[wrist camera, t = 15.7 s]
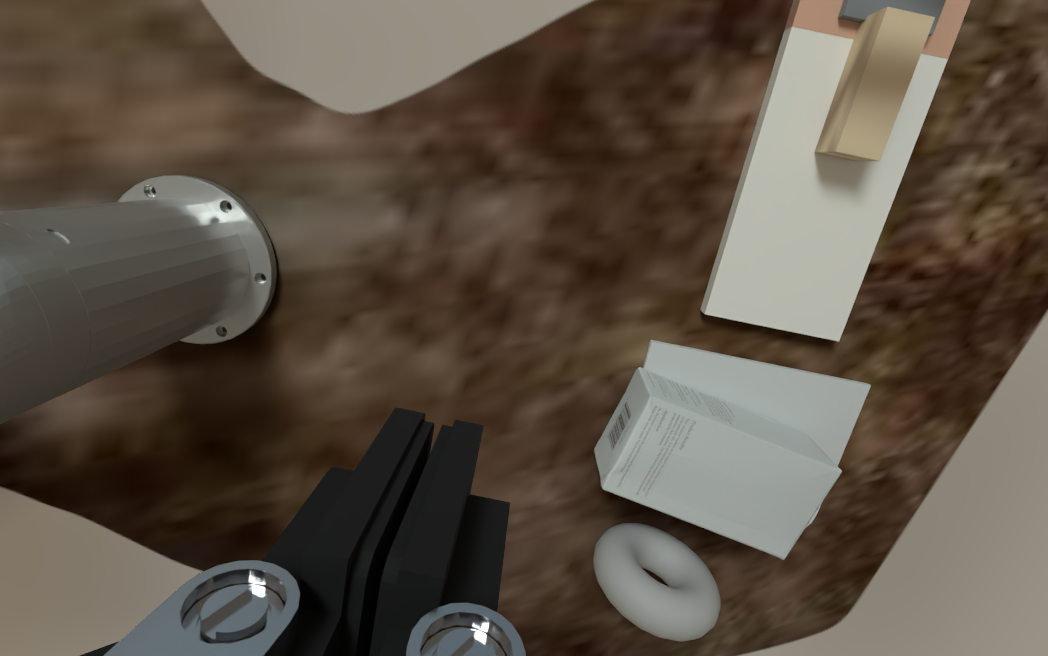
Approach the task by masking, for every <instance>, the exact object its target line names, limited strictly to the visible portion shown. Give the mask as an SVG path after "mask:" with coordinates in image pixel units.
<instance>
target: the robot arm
mask: <svg viewBox="0 0 1048 656" xmlns="http://www.w3.org/2000/svg"><path fill="white" fill-rule="evenodd" d="M230 204H231V206H232V208H231V207H230ZM263 275H265V277H266V279H265V278H264V276H263ZM276 277H277V270H276V259H275V255H274V251H273V247H272V244H271V241H270V239H269V237H268V235H267V233H266V230H265V228H264V226H263V225H262V224H261V222H260V221H259V219H258V218H257V216H256V215H255V213H254V212H253V211H252V210H251V209H250V208H249V207H248V206H247V205H246V204H245V203H244V202H243V201H242V200H241V199H240V198H238V197H237V196H236V195H234V194H233V193H232V192H230V191H229V190H228V189H226V188H224V187H222V186H220V185H218V184H216V183H214V182H212V181H208V180H205V179H202V178H198V177H193V176H184V175H171V176H160V177H155V178H151V179H147V180H145V181H143V182H141V183H139V184H137V185H135V186H133V187H132V188H131V189H130V190H128V191H127V192H126V193H124V194H123V195H122V197H121V198H120V199H119V200H118V202H115V203H102V204H90V205H77V206H65V207H53V208H40V209H28V210H15V211H3V212H0V424H1V423H3V422H5V421H7V420H9V419H11V418H13V417H15V416H17V415H19V414H21V413H24V412H26V411H28V410H30V409H32V408H34V407H36V406H39V405H41V404H43V403H45V402H47V401H49V400H51V399H53V398H55V397H58V396H60V395H62V394H65V393H67V392H69V391H71V390H74V389H76V388H78V387H80V386H82V385H84V384H86V383H89V382H91V381H93V380H95V379H97V378H99V377H101V376H104V375H106V374H108V373H110V372H112V371H114V370H116V369H119V368H121V367H123V366H125V365H127V364H129V363H131V362H134V361H136V360H138V359H140V358H142V357H144V356H147V355H149V354H151V353H153V352H155V351H157V350H159V349H162V348H164V347H166V346H168V345H170V344H172V343H174V342H177V341H182V342H186V343H194V344H213V343H219V342H223V341H226V340H230V339H232V338H234V337H236V336H238V335H240V334H242V333H244V332H245V331H247V330H248V329H250V328H251V327H253V326H254V325H255V324H256V323H257V322H258V321H259V320H260V319H261V318H262V316H263V315H264V314H265V312H266V310H267V309H268V307H269V305H270V304H271V301H272V298H273V294H274V291H275V286H276ZM483 426H484V425H479V424H474V423H469V422H464V421H459V420H455V422H454V424H453V427H451V426H446V425H442V427H441V430H440V432H439V434H438V437H437V439H436V441H435V444H434V446H433V449H432V451H431V453H430V449H431V443H432V437H433V431H434V423H431V422H426V421H425V413H420V412H416V411H411V410H406V409H401V408H395V409H394V410H393V412H392V414H391V415H390V417H389V418H388V420H387V421H386V423H385V424H384V426H383V428H382V429H381V431H380V432H379V434H378V435H377V437H376V438H375V440H374V441H373V443H372V445H371V446H370V448H369V449H368V451H367V452H366V454H365V455H364V457H363V458H362V460H361V462H360V463H359V465H358V466H357V468H356V469H355V471H353V470H348V469H343V468H338V467H332V468H331V469H330V470H329V471H328V472H327V473H326V475H325V476H324V477H323V479H322V480H321V481H320V483H319V484H318V485H317V487H316V488H315V490H314V491H313V492H312V494H311V495H310V496H309V498H308V499H307V501H306V502H305V503H304V505H303V506H302V507H301V509H300V510H299V511H298V513H297V514H296V516H295V517H294V518H293V520H292V521H291V522H290V524H289V525H288V526H287V528H286V529H285V531H284V532H283V533H282V535H281V536H280V537H279V539H278V540H277V541H276V543H275V544H274V546H273V547H272V548H271V550H270V551H269V552H268V554H267V555H266V556H265V558H264V559H263V561H257V560H251V561H235V562H231V563H226V564H222V565H218V566H215V567H213V568H211V569H208V570H206V571H204V572H202V573H199V574H198V575H197V576H195V577H194V578H192V579H191V580H189V581H188V582H187V583H185V584H184V585H182V586H181V587H180V588H179V589H178V590H177V591H176V592H174V593H173V594H172V595H171V596H170V597H169V598H168V599H167V600H166V601H164V602H163V603H162V604H161V605H160V606H159V607H158V608H156V609H155V610H154V611H153V612H152V613H151V614H150V615H148V616H147V617H146V618H145V619H144V620H143V621H142V622H141V623H140V624H138V625H137V626H136V627H135V628H134V629H133V630H132V631H130V632H129V633H128V634H127V635H126V636H125V637H124V638H123V639H122V640H121V641H119V642H116V643H113V644H110V645H108V646H105V647H102V648H99V649H97V650H94V651H91V652H89V653H86V654H83V655H81V656H526V654H525V650H524V647H523V643H522V640H521V637H520V636H519V634H518V633H517V631H516V630H515V628H514V627H513V625H512V624H511V623H510V622H508V621H507V620H506V619H505V618H504V617H503V616H501V615H500V614H499V613H497V607H498V599H499V590H500V582H501V574H502V565H503V557H504V549H505V540H506V532H507V524H508V515H509V506H510V503H509V502H505V501H500V500H495V499H490V498H485V497H480V496H475V495H470V492H471V487H472V482H473V477H474V472H475V467H476V462H477V457H478V452H479V447H480V442H481V437H482V432H483ZM429 455H430V456H429Z"/></svg>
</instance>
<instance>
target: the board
mask: <svg viewBox="0 0 1048 656" xmlns="http://www.w3.org/2000/svg"><path fill="white" fill-rule="evenodd" d="M970 1H971V0H946V2H945V4H944V7H943V9H942V12H941V15H940V17H939V20H938V22H937V25H936V28H935V30H934V33H933V35H931V36H928V37H927V40H926V42H925V45H924V48H923V50H922V53H921V55H920V58H919V61H918V63H917V66H916V69H915V71H914V74H913V76H912V79H911V82H910V84H909V87H908V89H907V92H906V95H905V97H904V100H903V102H902V105H901V108H900V110H899V113H898V115H897V118H896V121H895V123H894V126H893V128H892V131H891V134H890V136H889V139H888V142H887V144H886V147H885V149H884V152H883V155H882V157H881V160H880V161H851V160H847V159H842V158H838V157H833V156H828V155H824V154H819V153H815V149H816V146H817V144H818V141H819V138H820V135H821V132H822V129H823V126H824V123H825V121H826V118H827V115H828V112H829V109H830V106H831V103H832V100H833V97H834V95H835V92H836V89H837V86H838V83H839V80H840V77H841V74H842V72H843V69H844V66H845V63H846V60H847V57H848V54H849V51H850V49H851V46H852V43H853V40H854V37H855V34H856V31H857V28H858V26H859V23H858V22H853V21H849V20H844V19H840V18H838V15H839V12H840V9H841V6H842V3H843V0H793V4H792V7H791V10H790V14H789V17H788V20H787V24H786V27H785V30H784V34H783V37H782V40H781V44H780V47H779V50H778V53H777V57H776V60H775V63H774V67H773V70H772V73H771V77H770V80H769V83H768V87H767V90H766V93H765V97H764V100H763V103H762V107H761V110H760V113H759V117H758V120H757V123H756V127H755V130H754V133H753V137H752V140H751V143H750V147H749V150H748V153H747V156H746V160H745V163H744V166H743V170H742V173H741V176H740V180H739V183H738V186H737V190H736V193H735V196H734V200H733V203H732V206H731V210H730V213H729V216H728V220H727V223H726V226H725V230H724V233H723V236H722V240H721V243H720V246H719V249H718V253H717V256H716V259H715V263H714V266H713V269H712V273H711V276H710V279H709V283H708V286H707V289H706V293H705V296H704V299H703V303H702V306H701V309H700V310H701V311H702V312H703V313H704V314H706V315H711V316H716V317H721V318H725V319H730V320H735V321H740V322H745V323H750V324H755V325H760V326H765V327H770V328H775V329H780V330H785V331H790V332H795V333H800V334H804V335H809V336H814V337H819V338H824V339H829V340H834V341H839V340H840V338H841V335H842V333H843V330H844V327H845V325H846V322H847V320H848V317H849V314H850V312H851V309H852V307H853V304H854V301H855V299H856V296H857V294H858V291H859V288H860V286H861V283H862V281H863V278H864V275H865V273H866V270H867V268H868V265H869V262H870V260H871V257H872V255H873V252H874V249H875V247H876V244H877V242H878V239H879V237H880V234H881V231H882V229H883V226H884V224H885V221H886V218H887V216H888V213H889V211H890V208H891V205H892V203H893V200H894V198H895V195H896V192H897V190H898V187H899V185H900V182H901V179H902V177H903V174H904V172H905V169H906V166H907V164H908V161H909V159H910V156H911V153H912V151H913V148H914V146H915V143H916V140H917V138H918V135H919V133H920V130H921V128H922V125H923V122H924V120H925V117H926V115H927V112H928V109H929V107H930V104H931V102H932V99H933V96H934V94H935V91H936V89H937V86H938V83H939V81H940V78H941V76H942V73H943V70H944V68H945V65H946V63H947V60H948V58H949V55H950V53H951V50H952V48H953V45H954V42H955V40H956V37H957V35H958V32H959V29H960V27H961V24H962V22H963V19H964V16H965V14H966V11H967V9H968V6H969V3H970Z"/></svg>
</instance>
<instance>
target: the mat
mask: <svg viewBox="0 0 1048 656" xmlns="http://www.w3.org/2000/svg"><path fill="white" fill-rule="evenodd" d="M643 368H644V369H646V370H649V371H651V372H654V373H656V374H659V375H661V376H663V377H666V378H668V379H671V380H673V381H676V382H679V383H681V384H684V385H686V386H689V387H691V388H694V389H696V390H699V391H701V392H704V393H706V394H709V395H711V396H714V397H716V398H719V399H721V400H724V401H726V402H729V403H731V404H734V405H736V406H739V407H741V408H744V409H746V410H749V411H751V412H754V413H757V414H760V415H762V416H765V417H767V418H770V419H772V420H775V421H777V422H779V423H782V424H784V425H787V426H789V427H792V428H794V429H797V430H799V431H802V432H804V433H806V434H808V435H809V436H810V437H811V438H812V439H813V440H814V441H815V442H816V443H817V444H818V446H819V447H820V448H821V449H822V450H823V451H824V452H825V453H826V455H827V456H828V457H829V458H830V459H831V460H832V461H833V462H834V463H835V464H836V465H837V466H838V464H839V461H840V459H841V457H842V454H843V452H844V449H845V447H846V445H847V442H848V440H849V437H850V435H851V432H852V430H853V428H854V425H855V423H856V420H857V418H858V416H859V413H860V411H861V408H862V406H863V403H864V401H865V399H866V396H867V394H868V391H869V389H870V387H871V385H869V384H868V383H863V382H858V381H853V380H848V379H843V378H838V377H833V376H828V375H823V374H818V373H813V372H808V371H803V370H798V369H793V368H788V367H784V366H779V365H774V364H769V363H764V362H759V361H754V360H749V359H744V358H739V357H734V356H729V355H724V354H719V353H714V352H709V351H704V350H699V349H694V348H689V347H684V346H679V345H674V344H670V343H665V342H660V341H655V340H650V343H649V347H648V351H647V354H646V358H645V361H644V365H643Z"/></svg>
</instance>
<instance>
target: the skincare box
mask: <svg viewBox="0 0 1048 656" xmlns="http://www.w3.org/2000/svg"><path fill="white" fill-rule="evenodd" d="M594 451H595V456H596V462H597V465H598V469H599V473H600V478H601V486H602V489H603V490H606V491H608V492H611V493H613V494H616V495H618V496H621V497H624V498H626V499H629V500H632V501H634V502H637V503H639V504H642V505H645V506H647V507H650V508H652V509H655V510H658V511H660V512H663V513H665V514H668V515H671V516H673V517H676V518H678V519H681V520H684V521H686V522H689V523H691V524H694V525H697V526H699V527H702V528H704V529H707V530H710V531H712V532H715V533H717V534H719V535H722V536H725V537H727V538H730V539H733V540H735V541H738V542H740V543H743V544H745V545H748V546H751V547H753V548H756V549H758V550H761V551H764V552H766V553H769V554H771V555H774V556H776V557H778V558H780V559H782V560H784V559H785V558H786V556H787V554H788V553H789V551H790V550H791V549H792V547H793V546H794V544H795V543H796V541H797V539H798V538H799V536H800V535H801V533H802V532H803V530H804V529H805V528H806V527H807V526H808V525H809V524H810V523H811V522H812V521H813V520H814V518H815V517H816V515H817V513H818V511H819V508H820V506H821V503H822V501H823V500H824V498H825V497H826V495H827V494H828V492H829V491H830V489H831V488H832V486H833V485H834V483H835V481H836V480H837V478H838V477H839V475H840V474H841V472H842V471H841V469H840V468H839V467H838V466H837V465H836V464H835V463H834V462H833V461H832V460H831V459H830V458H829V457H828V456H827V455H826V453H825V452H824V451H823V450H822V449H821V448H820V447H819V446H818V444H817V443H816V442H815V441H814V440H813V439H812V438H811V437H810V436H809V435H808V434H806V433H804V432H802V431H799V430H797V429H794V428H792V427H789V426H787V425H784V424H782V423H779V422H777V421H775V420H772V419H770V418H767V417H765V416H762V415H760V414H757V413H754V412H751V411H749V410H746V409H744V408H741V407H739V406H736V405H734V404H731V403H729V402H726V401H724V400H721V399H719V398H716V397H714V396H711V395H709V394H706V393H704V392H701V391H699V390H696V389H694V388H691V387H689V386H686V385H684V384H681V383H679V382H676V381H673V380H671V379H668V378H666V377H663V376H661V375H659V374H656V373H654V372H651V371H649V370H646V369H644V368H641V367H639V368H637V370H636V371H635V373H634V375H633V377H632V379H631V381H630V384H629V386H628V388H627V390H626V392H625V394H624V396H623V397H622V399H621V401H620V403H619V405H618V406H617V408H616V410H615V412H614V414H613V415H612V417H611V419H610V421H609V423H608V425H607V427H606V428H605V430H604V432H603V434H602V436H601V438H600V439H599V441H598V443H597V445H596V447H595V449H594Z"/></svg>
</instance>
